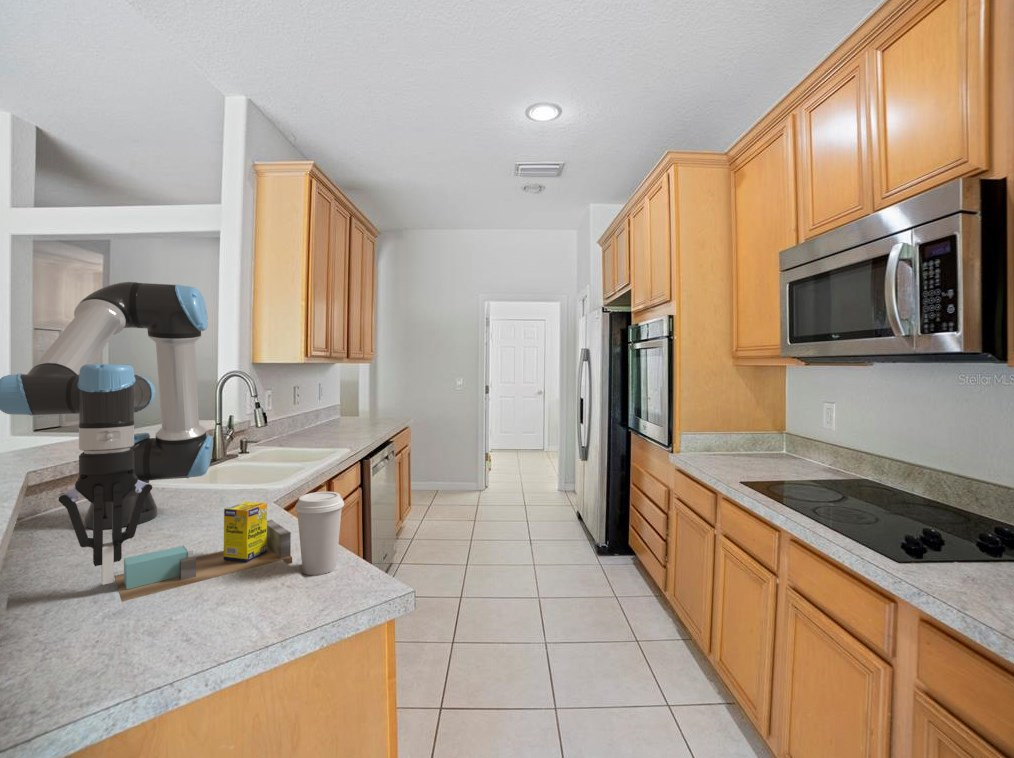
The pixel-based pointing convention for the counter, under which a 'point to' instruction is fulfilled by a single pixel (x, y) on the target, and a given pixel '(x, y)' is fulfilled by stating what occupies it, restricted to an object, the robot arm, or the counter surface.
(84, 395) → the robot arm
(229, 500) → the counter surface
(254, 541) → the supplement box
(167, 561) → the teal rectangular block
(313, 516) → the coffee cup
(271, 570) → the counter surface
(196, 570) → the rail base
